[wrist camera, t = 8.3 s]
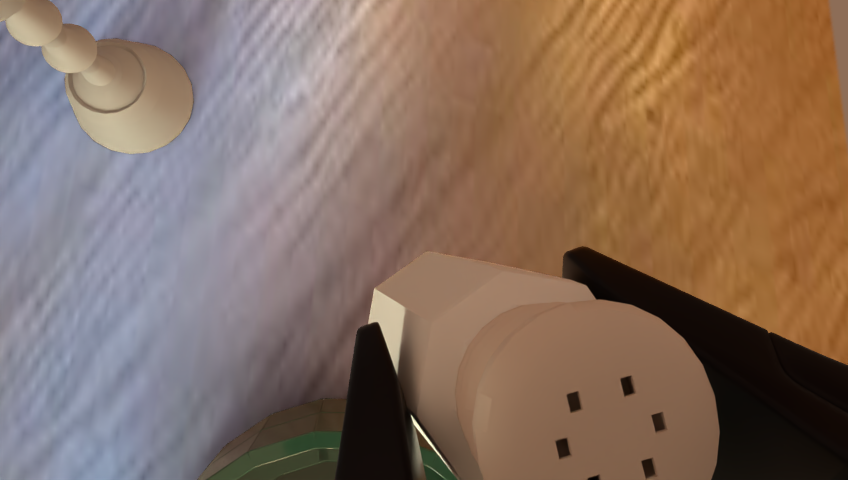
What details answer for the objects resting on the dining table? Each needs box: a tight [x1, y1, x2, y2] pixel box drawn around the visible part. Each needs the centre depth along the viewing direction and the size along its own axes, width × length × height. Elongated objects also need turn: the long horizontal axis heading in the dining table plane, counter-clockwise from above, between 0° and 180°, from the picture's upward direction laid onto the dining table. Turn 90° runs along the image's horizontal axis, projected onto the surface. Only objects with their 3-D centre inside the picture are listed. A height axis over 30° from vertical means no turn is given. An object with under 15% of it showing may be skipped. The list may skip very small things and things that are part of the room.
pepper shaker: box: [368, 251, 720, 480], centre depth 11 cm, size 5×5×11 cm
